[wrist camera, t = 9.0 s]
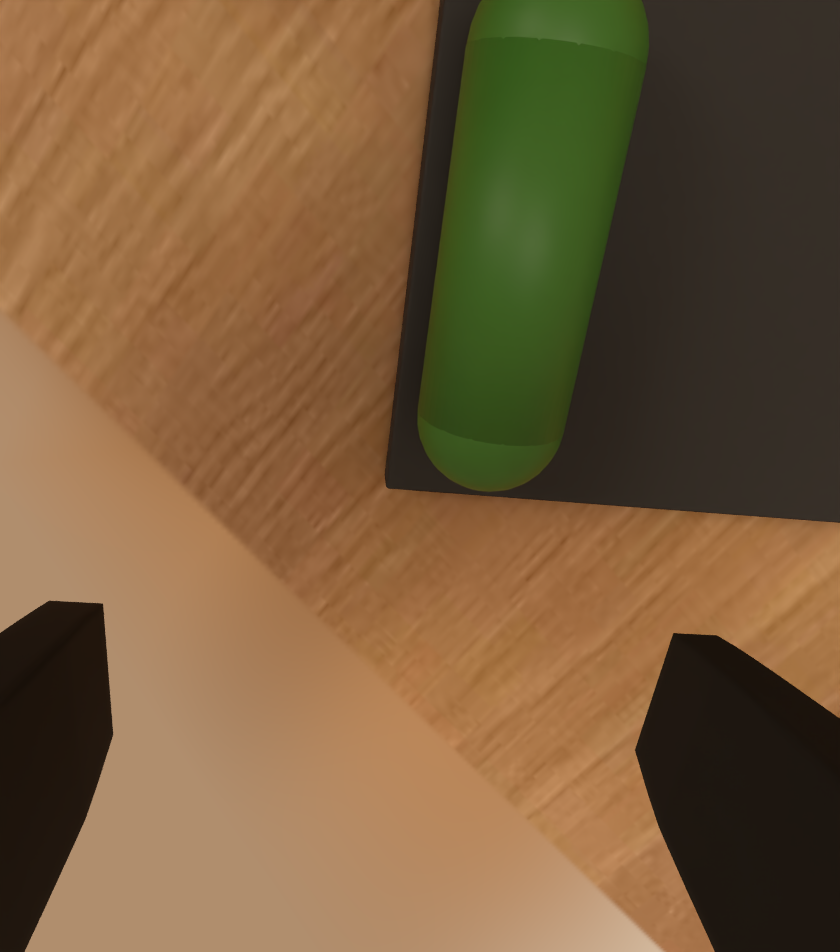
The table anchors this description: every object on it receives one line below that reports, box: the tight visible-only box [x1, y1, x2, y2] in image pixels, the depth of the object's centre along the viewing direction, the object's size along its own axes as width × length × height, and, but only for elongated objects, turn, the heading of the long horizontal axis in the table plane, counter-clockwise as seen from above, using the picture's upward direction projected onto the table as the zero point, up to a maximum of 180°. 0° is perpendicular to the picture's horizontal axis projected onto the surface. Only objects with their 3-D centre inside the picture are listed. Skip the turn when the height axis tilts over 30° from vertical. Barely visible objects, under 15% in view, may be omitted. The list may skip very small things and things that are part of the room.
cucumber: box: [417, 0, 649, 492], centre depth 13 cm, size 10×3×3 cm, turn 173°
